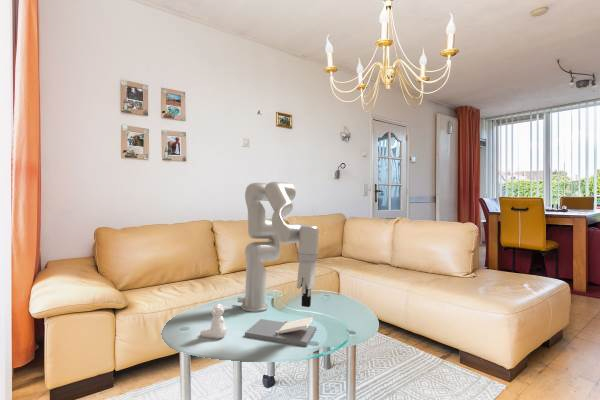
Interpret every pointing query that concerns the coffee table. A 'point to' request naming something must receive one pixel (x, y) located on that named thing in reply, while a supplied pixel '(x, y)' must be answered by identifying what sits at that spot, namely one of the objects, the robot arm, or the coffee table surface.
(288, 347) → the coffee table surface
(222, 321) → the sitting furry creature
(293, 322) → the tile
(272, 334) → the board
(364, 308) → the coffee table surface
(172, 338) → the coffee table surface
